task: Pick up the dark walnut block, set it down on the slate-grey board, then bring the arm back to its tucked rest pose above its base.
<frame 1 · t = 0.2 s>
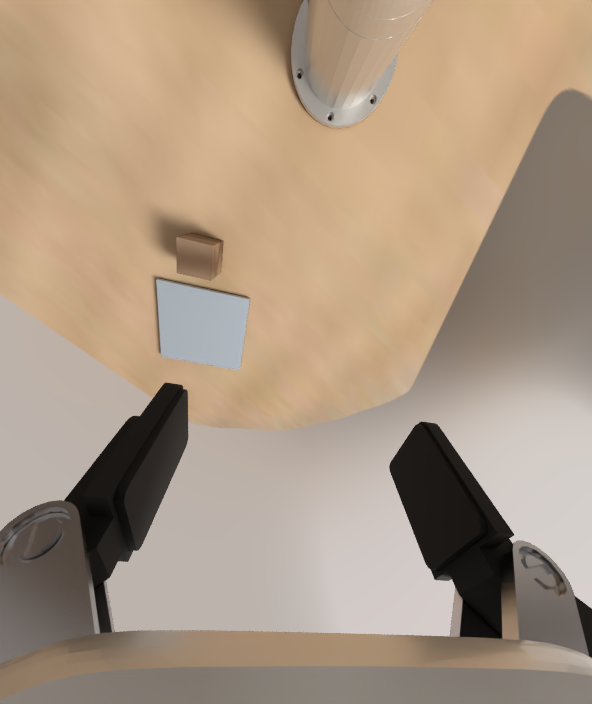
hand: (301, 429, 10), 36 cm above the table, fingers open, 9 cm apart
walnut block: (206, 253, 40), on the table
slate board: (203, 328, 46), on the table
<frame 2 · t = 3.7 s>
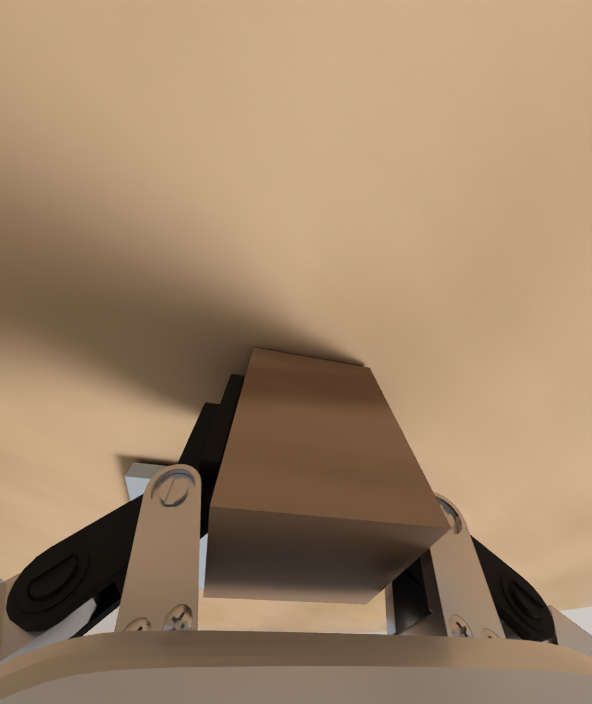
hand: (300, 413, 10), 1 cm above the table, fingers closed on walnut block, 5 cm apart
walnut block: (299, 402, 11), on the table, touching gripper
slate board: (258, 539, 18), on the table
when the fingers open (3 cm above the table, at t = 9.3 s): walnut block drops 1 cm, resting on slate board.
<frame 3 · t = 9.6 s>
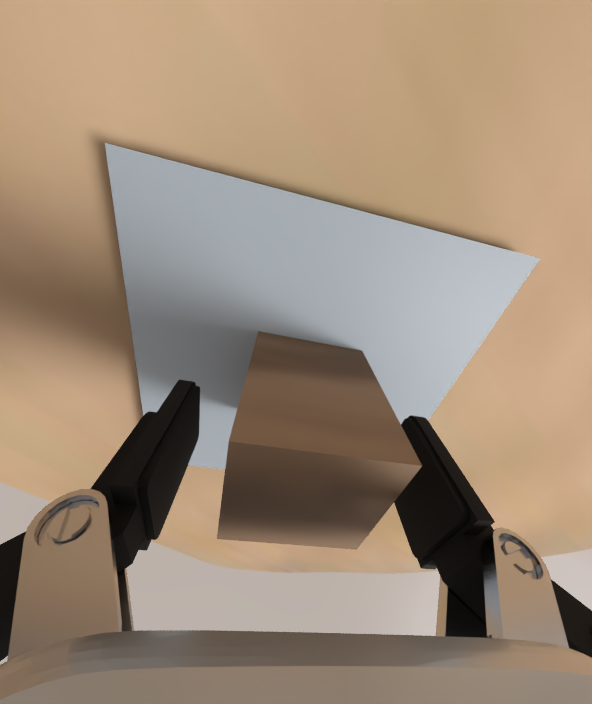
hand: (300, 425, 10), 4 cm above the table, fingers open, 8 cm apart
walnut block: (299, 383, 12), point 1 cm above the table, touching slate board
slate board: (298, 374, 13), on the table
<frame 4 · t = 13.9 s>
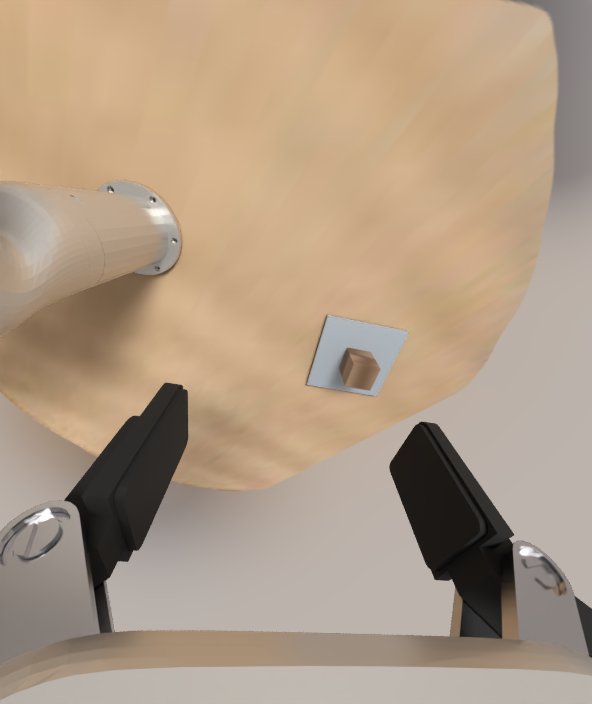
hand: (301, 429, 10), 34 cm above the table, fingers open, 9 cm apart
walnut block: (354, 360, 48), point 1 cm above the table, touching slate board
slate board: (353, 358, 49), on the table
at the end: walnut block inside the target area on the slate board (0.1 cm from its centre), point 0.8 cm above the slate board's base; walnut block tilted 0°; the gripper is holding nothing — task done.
